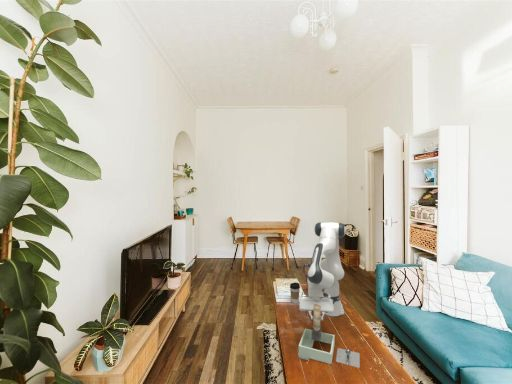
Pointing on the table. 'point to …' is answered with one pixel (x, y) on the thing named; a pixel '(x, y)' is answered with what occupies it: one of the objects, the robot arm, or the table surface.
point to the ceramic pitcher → (306, 275)
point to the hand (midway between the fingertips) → (317, 319)
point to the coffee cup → (294, 292)
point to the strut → (316, 323)
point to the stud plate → (348, 357)
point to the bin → (309, 352)
